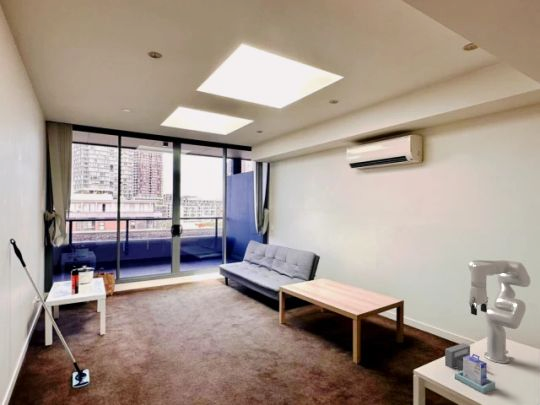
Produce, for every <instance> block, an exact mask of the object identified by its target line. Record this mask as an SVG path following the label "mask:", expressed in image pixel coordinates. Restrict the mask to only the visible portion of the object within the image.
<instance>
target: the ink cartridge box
mask: <svg viewBox="0 0 540 405" xmlns="http://www.w3.org/2000/svg"><path fill="white" fill-rule="evenodd" d="M487 364H488V363H487V362H485V361H483V360H480V356H479V355H477V354H475V353H472V355H470V356H465V357H463V377H465V378H467V379H469V380H471V381H473V382H475V383H476V384H478V385H480V386H484V385H487V382H486V381H487V379H488V378H487V368H488V366H487Z"/></svg>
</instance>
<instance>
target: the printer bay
mask: <svg viewBox="0 0 540 405" xmlns="http://www.w3.org/2000/svg"><path fill="white" fill-rule="evenodd" d="M444 353H445V354H444V358H445V361H444V362H445V363H444V365H445V367H448V368H449V369H455V368H456V369H458V370H460V371H462V370H463V357H465V356H471V344H470V345H469V344H467V343H464V342H463V343H460V344H456V345H454V346H450V347H448V348H445V350H444Z"/></svg>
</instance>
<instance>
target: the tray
mask: <svg viewBox="0 0 540 405" xmlns="http://www.w3.org/2000/svg"><path fill="white" fill-rule="evenodd" d="M454 379H455V380H457V381H458V382H460V383H462V384H464V385H465V386H467V387H470V388H471V389H473V390H475V391H477V392H479V393H480V394H483V393H484V394H486V393H488V392H490V391H492V390H494V389H496V381H493V380H491V379H489V378H487V381H486V382H487V385H484V386H480V385H478V384H476V383H475V382H473V381H471V380H469V379H467V378H465V377H463V370H460V371H458V372H455V373H454Z"/></svg>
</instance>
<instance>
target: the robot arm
mask: <svg viewBox="0 0 540 405" xmlns="http://www.w3.org/2000/svg"><path fill="white" fill-rule="evenodd" d="M468 269H469V271H470V277H471V278H470V281H471V282H470V291H469V300H468V303H469V306H470V314H471V315H474V316H477V315H478V308H477V307H478V306H479V305H480V311H481V312H483V313H485V319H486V330H487V331H486V332H487V335H486V336H487V337H486V345H487V348H486V349H487V350H486V352H484V357H485V359H488V360H489V361H491V362H494V363H498V364H508V363H510V358H509V357H508V356H507V354H509V350H507V332H506V330H505V328H507V329H512V330H516V329H518V328H520V325H521V323H522V320H523V318H524V316H525V313H526V310H527V309H526V303H525V302H524V301H523V300H521V299H518V298H516V291H515V289H513V287H512V286H515V287H516V286H517V287H520V288H527V287H529V286H530V285H531V276H530V275H529V273H528V271H527V269H526V267H525V265H524V264H523V263H521V262H518V261H513V260H512V261H511V260H505V259H502V260H484V259H483V260H481V259H477V260H476V259H475V260H474V259H473V260H471V261H470V262H469V264H468ZM495 275H497V281H498V285H499V287H498V288H499V291H498V292H497V294H496V297H495V299H494V302H493V307H488V300H489V297H488V293H487V276H488V277H489V276H490V277H491V276H495Z"/></svg>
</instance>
